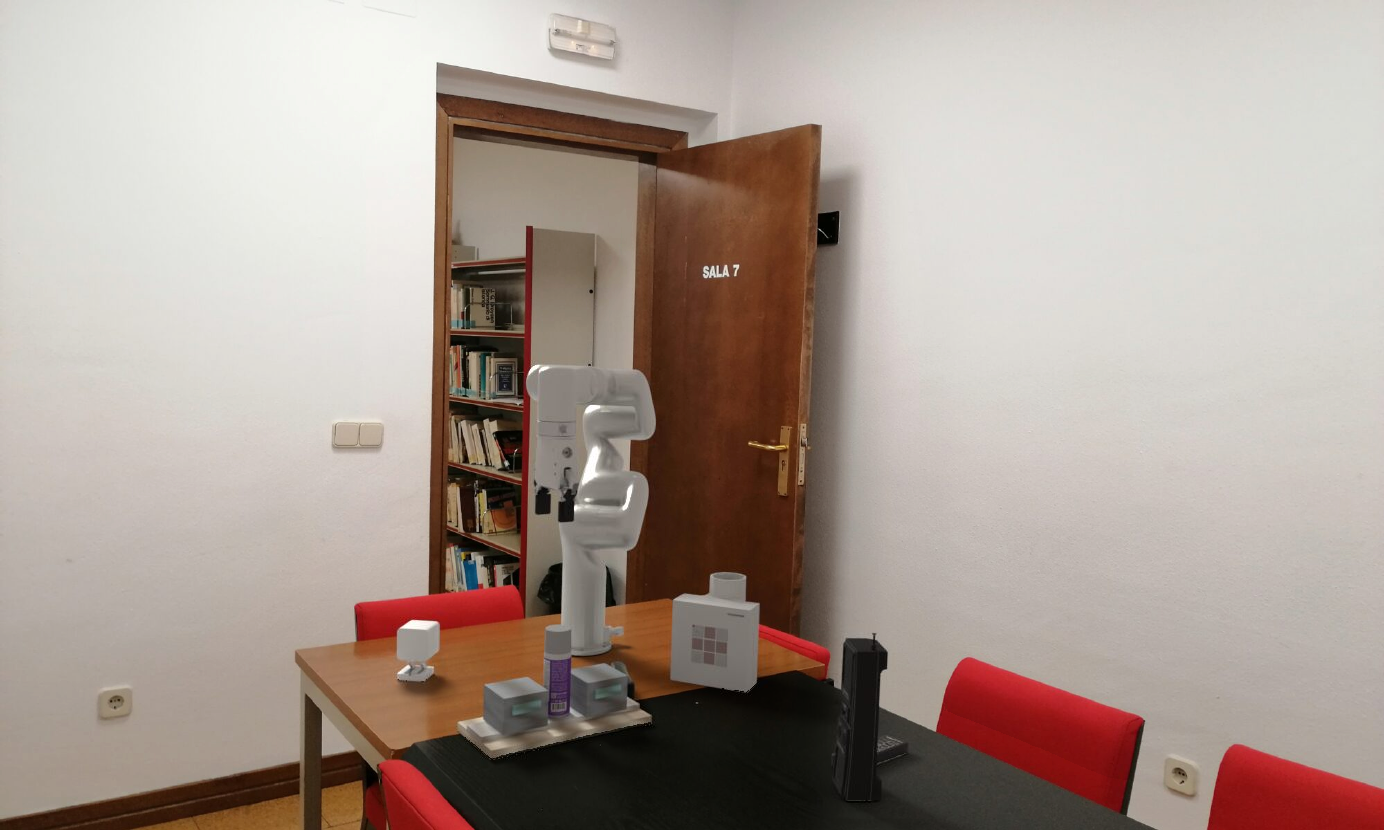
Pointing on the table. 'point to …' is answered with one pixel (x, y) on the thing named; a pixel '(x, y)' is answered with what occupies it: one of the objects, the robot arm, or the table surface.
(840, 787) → the portable radio
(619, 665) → the dark grey rounded bar
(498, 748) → the rail panel
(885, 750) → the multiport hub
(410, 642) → the security camera
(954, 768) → the table surface
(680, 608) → the white square bottle
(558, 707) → the container
